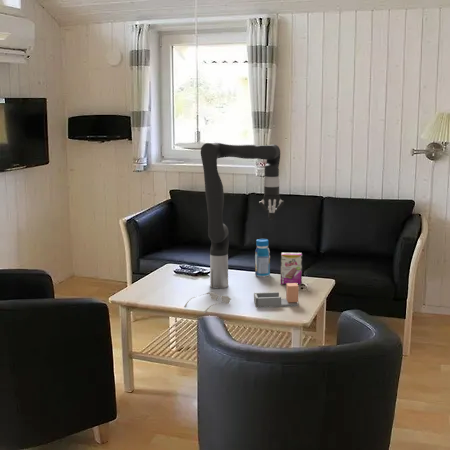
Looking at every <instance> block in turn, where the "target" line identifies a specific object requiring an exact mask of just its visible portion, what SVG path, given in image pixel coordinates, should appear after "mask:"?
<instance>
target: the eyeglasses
mask: <svg viewBox="0 0 450 450" xmlns="http://www.w3.org/2000/svg"><path fill="white" fill-rule="evenodd" d="M204 295H205V293H204V294H201V295H199V297H201V296H204ZM206 295H209V297H210V300H214V301H218V300H219V297H220V300H221V303H224V304H227V305H228V304H230V303H231V300H232V298H231V297H230V296H229V295H228V296H227V295H219V294H218V293H216V292H213V291H211V292H207V293H206ZM194 298H196V296H194V297H191V298H190V299H189V300H187V302H186V303H185V305H184V306H183V308H186V307H187V305H188V303H189V302H190V301H191V300H192V299H194ZM217 304H219V302H218V303H214V304H211V305H210V306H209V307H207V309H205V310H204V312H203V314H206V313H207V312H208V310H209V309H210V308H211V307H213V306H214V305H217Z"/></svg>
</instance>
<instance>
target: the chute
mask: <svg viewBox="0 0 450 450" xmlns="http://www.w3.org/2000/svg"><path fill="white" fill-rule="evenodd" d="M253 303H254V305H255V308H257V309H259V308H279V307H281V308H283V307H299V302H287V300H286V298H282V296H280V292H279V291H270V292H269V291H268V292H267V291H265V292H264V291H263V292H254V293H253Z"/></svg>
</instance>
